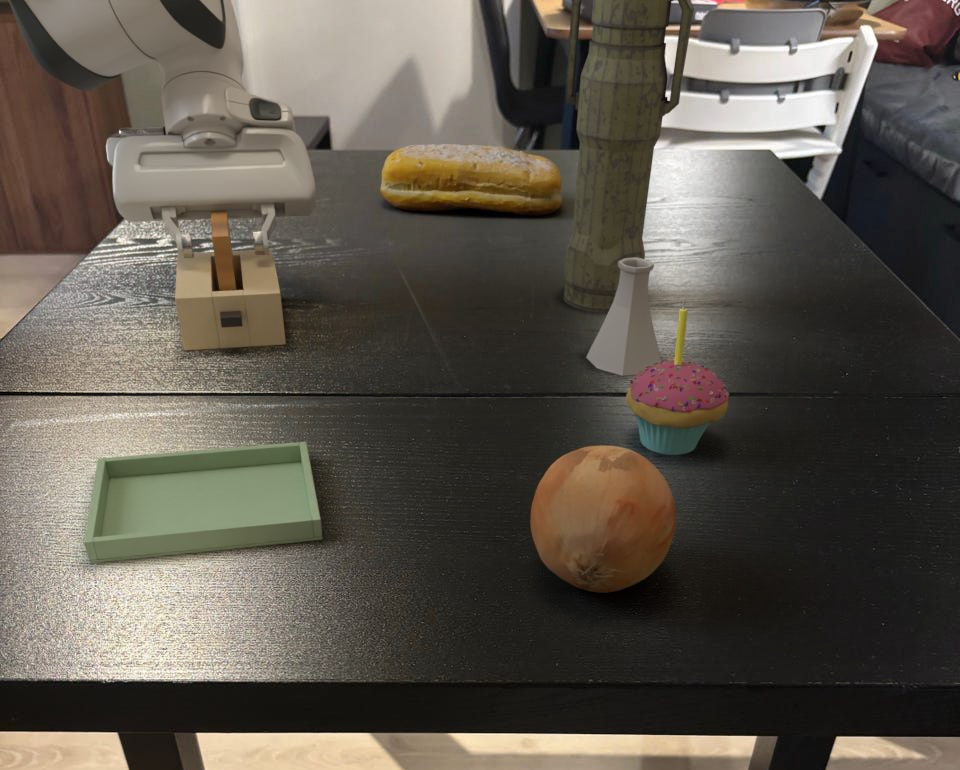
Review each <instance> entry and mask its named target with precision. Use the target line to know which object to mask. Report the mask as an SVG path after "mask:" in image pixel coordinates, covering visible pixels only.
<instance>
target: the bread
mask: <svg viewBox="0 0 960 770" xmlns="http://www.w3.org/2000/svg"><path fill="white" fill-rule="evenodd" d="M562 184H563V180H562V175H561V171H560V169H559V168H558V166H557V165H556V164H555V163H554V162H553V161H552V160H550V159H548V158H547V157H545V156H541V155H537V154H536V155H535V154H530V153H526V152H524V151H522V150H519V151H518V150H514V149H510V148H508V147H507V148H505V147H503V146H499V145H497V146H493V145H478V144H466V145H464V144H458V143H453V144H452V143H451V144H450V143H441V144H438V143H430V144H409V145H407V146H403V147H400V148H397V149H395V150H394V151H392V152H391V153H390V154H389V155H388V156H387V157H386V159H385V161H384V164H383V167H382V170H381V183H380V188H379V190H380V192H379V193H380V194H381V196H382V198H383V199H384V200H385V201H386V202H387V203H388V204H389V205H391V206H392V207H394V208H397V209H399V210H404V211H408V212H443V211H456V210H460V209H461V210H462V209H464V210H465V209H467V210H468V209H469V210H470V209H476V210H482V211H489V212H497V213H498V212H499V213H507V214H514V216H517V215H518V216H519V215H520V216H544V215H549V214H553V213H555V212H556V211H557V210H558V209H559V208H560V207H561V205H562V202H563V197H562V193H561V192H562Z"/></svg>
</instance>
